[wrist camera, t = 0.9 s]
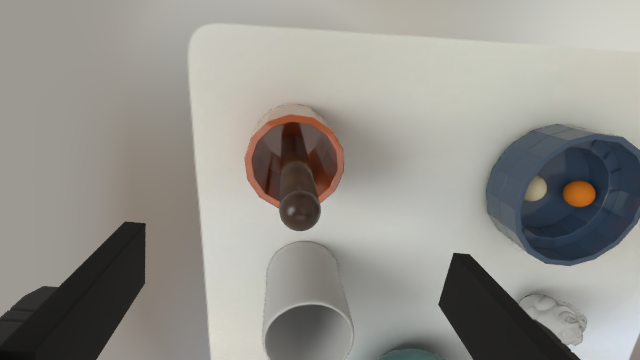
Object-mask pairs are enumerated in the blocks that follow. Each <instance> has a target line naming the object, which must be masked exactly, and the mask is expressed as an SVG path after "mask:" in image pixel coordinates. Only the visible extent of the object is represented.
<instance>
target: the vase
mask: <svg viewBox="0 0 640 360" xmlns="http://www.w3.org/2000/svg"><path fill="white" fill-rule="evenodd" d="M375 360H445V359H444V358H442V357H441V356H439V355H437V354H435V353H432V352H430V351H426V350H423V349H416V348H403V349H397V350H393V351H390V352H388V353H385V354H383V355H382V356H380V357H378V358H377V359H375Z"/></svg>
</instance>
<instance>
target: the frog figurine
mask: <svg viewBox="0 0 640 360" xmlns="http://www.w3.org/2000/svg"><path fill="white" fill-rule="evenodd" d="M519 306H520V307H521V308H522V309H523V310H524V311H525V312H526V313H527V314H528V315H529V316H530V317H531V318H532V319H536V320H537V321H538V322H540V323H541V324H543V325H544V326H546V327H547V328H549V329H550V330H551V331H552V332H553V333H554V334H555V335H556V336H557V337H558V338H559V339H560V340H561V341H562V343H564V344H565V345H570V344H572V345H575V346H576V345H578V344H580V343H581V342H582V340H583V335H582V333H583V331H584V330H585V328H586V324H587V318H586V316H585V315H584V314H583V313H581V312H580V311H579V310H577V309H576V308H575V307H573V306H572V305H570V304H568V303H565V302H564V301H563V302H562V301H560V300H558V301H556V300H555V299H553V298H548V297H546V296H545V295H544V296H543V295H537V294H534V295H529V296H526V297H524V298H523V299H522V300H521V301H520V302H519Z"/></svg>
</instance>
